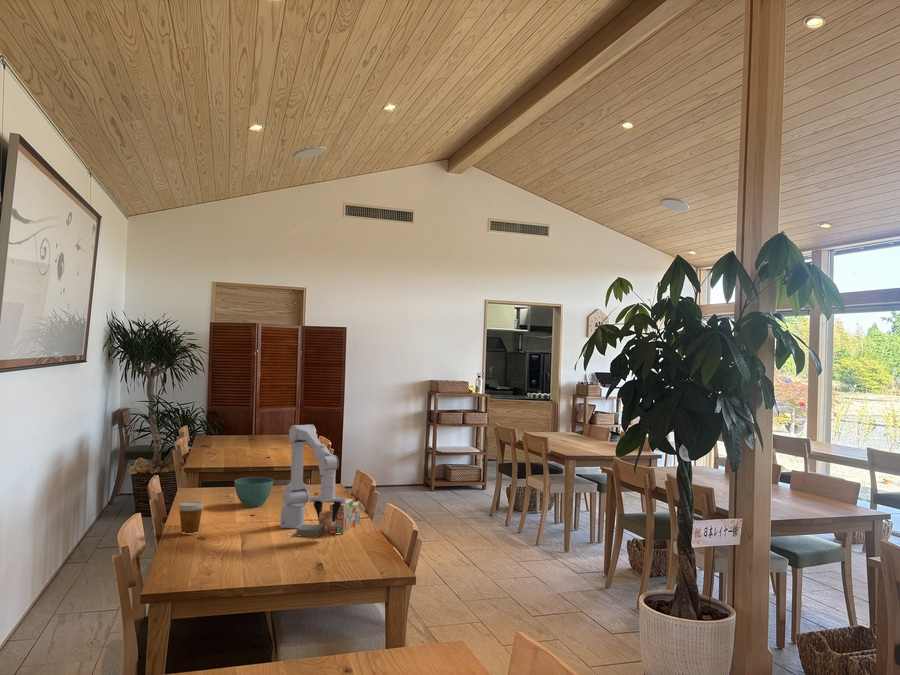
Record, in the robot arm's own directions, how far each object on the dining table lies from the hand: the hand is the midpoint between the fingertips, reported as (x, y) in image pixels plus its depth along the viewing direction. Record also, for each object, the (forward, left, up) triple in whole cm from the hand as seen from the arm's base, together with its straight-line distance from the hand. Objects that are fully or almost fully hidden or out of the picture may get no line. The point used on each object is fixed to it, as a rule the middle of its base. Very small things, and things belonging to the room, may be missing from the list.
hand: (327, 520), depth 265 cm
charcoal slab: (-9, +9, -8) cm, 15 cm away
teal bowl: (-52, +58, -8) cm, 78 cm away
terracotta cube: (0, 0, -2) cm, 2 cm away
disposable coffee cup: (-57, +2, -8) cm, 58 cm away
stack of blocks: (+3, +20, -8) cm, 22 cm away
